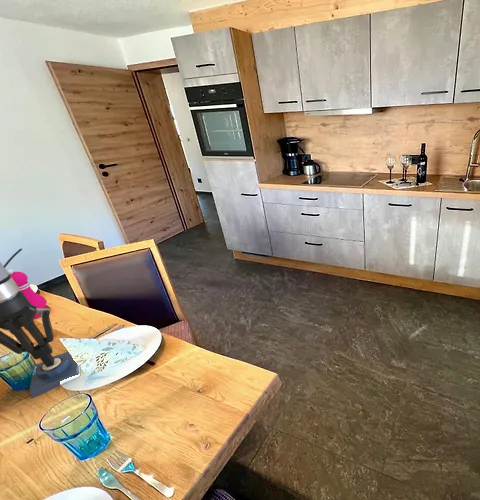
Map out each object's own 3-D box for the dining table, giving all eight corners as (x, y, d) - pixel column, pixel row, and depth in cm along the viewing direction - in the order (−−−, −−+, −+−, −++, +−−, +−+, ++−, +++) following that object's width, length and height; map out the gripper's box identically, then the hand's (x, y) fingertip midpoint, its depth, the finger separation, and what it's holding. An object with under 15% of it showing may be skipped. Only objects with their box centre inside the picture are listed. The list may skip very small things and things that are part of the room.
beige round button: (45, 367, 85) (42, 363, 84) (63, 359, 87) (60, 355, 86) (44, 376, 82) (41, 371, 81) (63, 368, 84) (59, 363, 83)
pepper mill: (21, 318, 109) (-13, 274, 99) (43, 306, 115) (13, 263, 105) (35, 321, 107) (2, 276, 98) (56, 308, 113) (27, 265, 104)
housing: (37, 370, 87) (30, 361, 85) (80, 352, 92) (74, 343, 91) (33, 397, 79) (25, 388, 77) (80, 376, 84) (73, 367, 82)
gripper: (-44, 317, 66) (17, 385, 77) (34, 293, 73) (79, 358, 84) (-35, 302, 71) (21, 367, 82) (37, 281, 78) (79, 344, 90)
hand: (50, 363), depth 83 cm, fingers closed
